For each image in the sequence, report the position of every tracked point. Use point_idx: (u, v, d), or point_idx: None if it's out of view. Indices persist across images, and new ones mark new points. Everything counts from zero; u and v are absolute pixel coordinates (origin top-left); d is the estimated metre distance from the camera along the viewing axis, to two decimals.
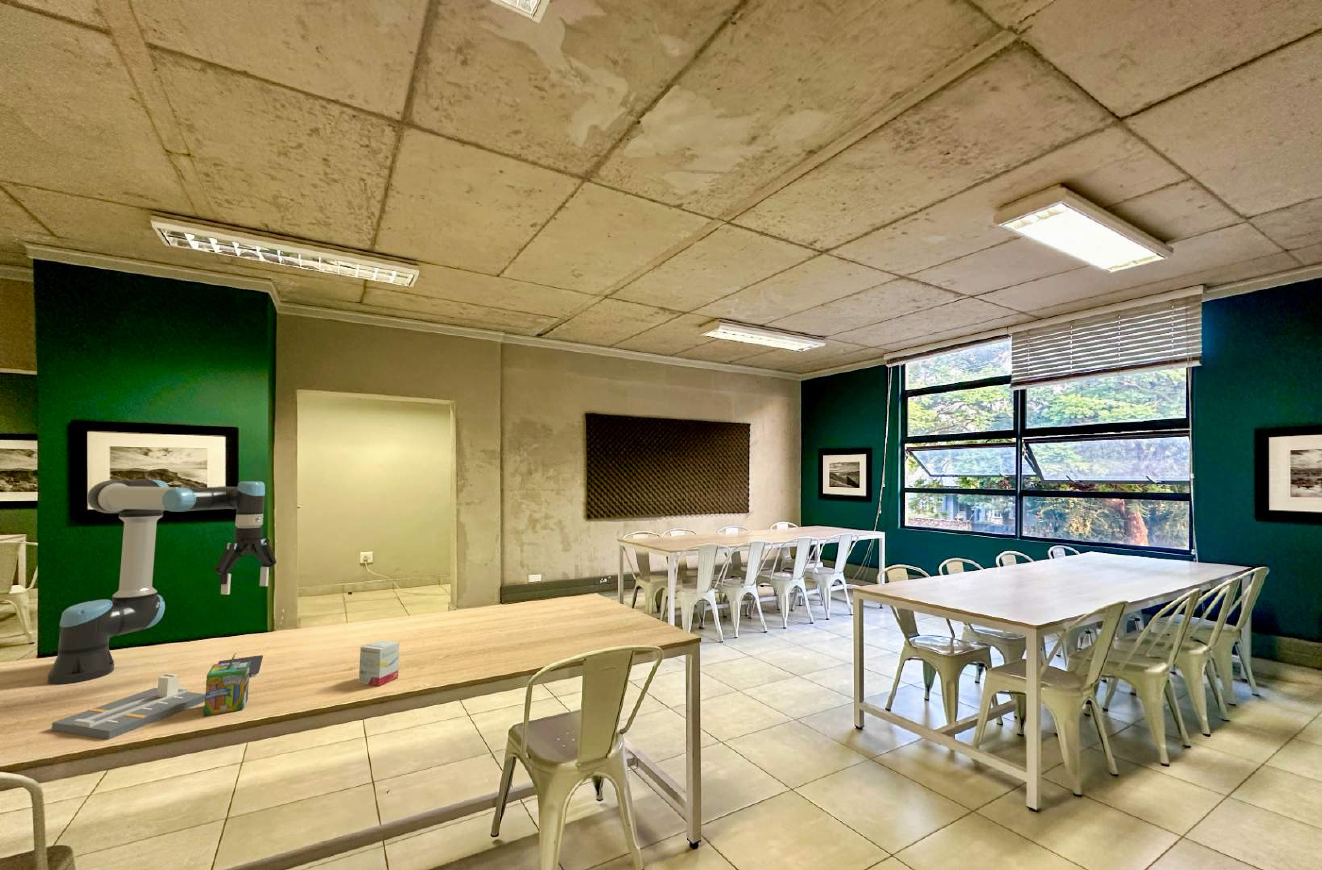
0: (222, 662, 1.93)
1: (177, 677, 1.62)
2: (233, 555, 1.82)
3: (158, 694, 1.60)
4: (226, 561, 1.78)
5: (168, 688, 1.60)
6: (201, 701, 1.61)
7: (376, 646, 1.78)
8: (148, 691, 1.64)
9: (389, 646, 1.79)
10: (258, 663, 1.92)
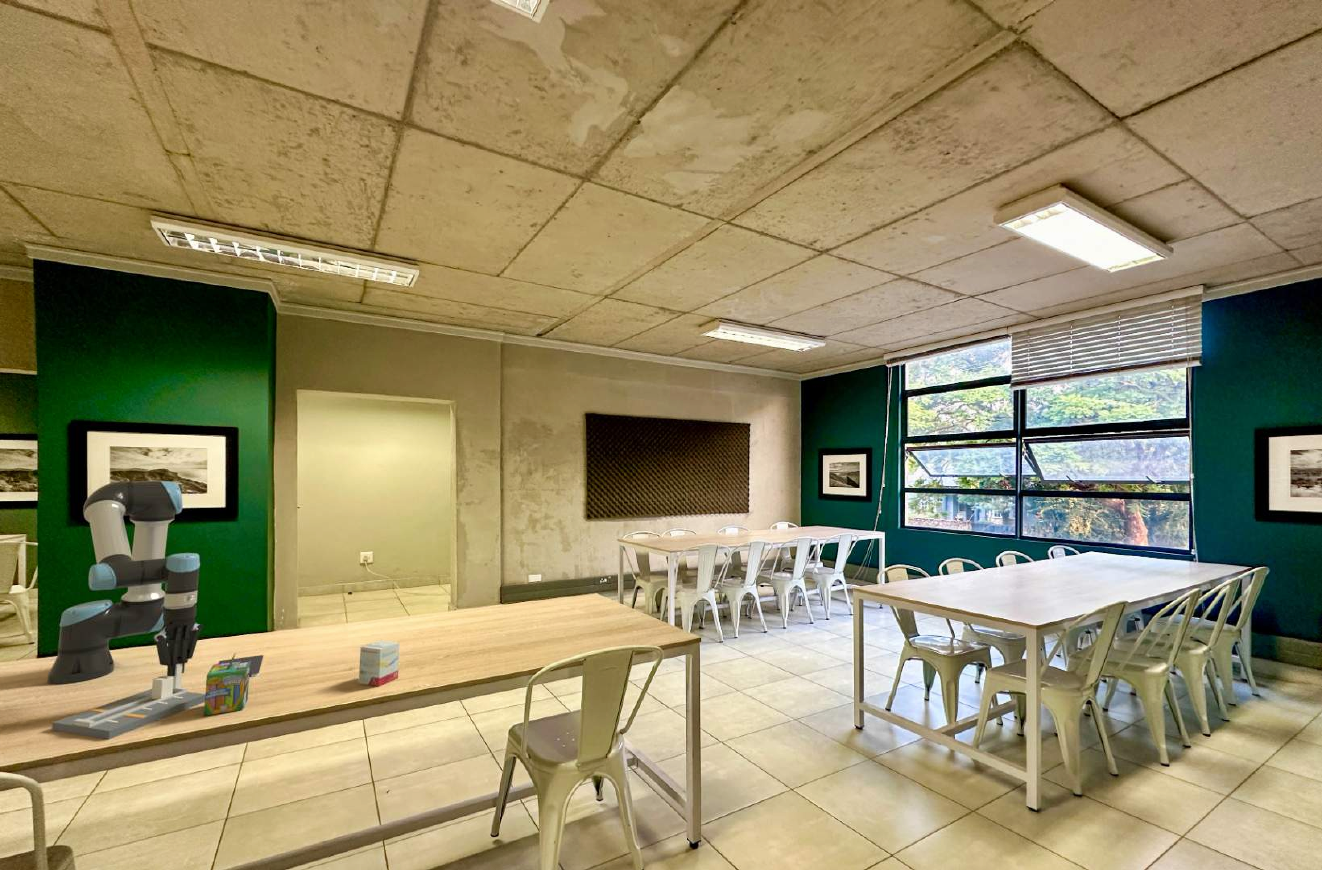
0: (222, 662, 1.93)
1: (171, 679, 1.61)
2: (169, 643, 1.63)
3: (152, 696, 1.59)
4: (166, 653, 1.60)
5: (163, 690, 1.59)
6: (201, 701, 1.61)
7: (376, 646, 1.78)
8: (148, 691, 1.64)
9: (389, 646, 1.79)
10: (258, 663, 1.92)
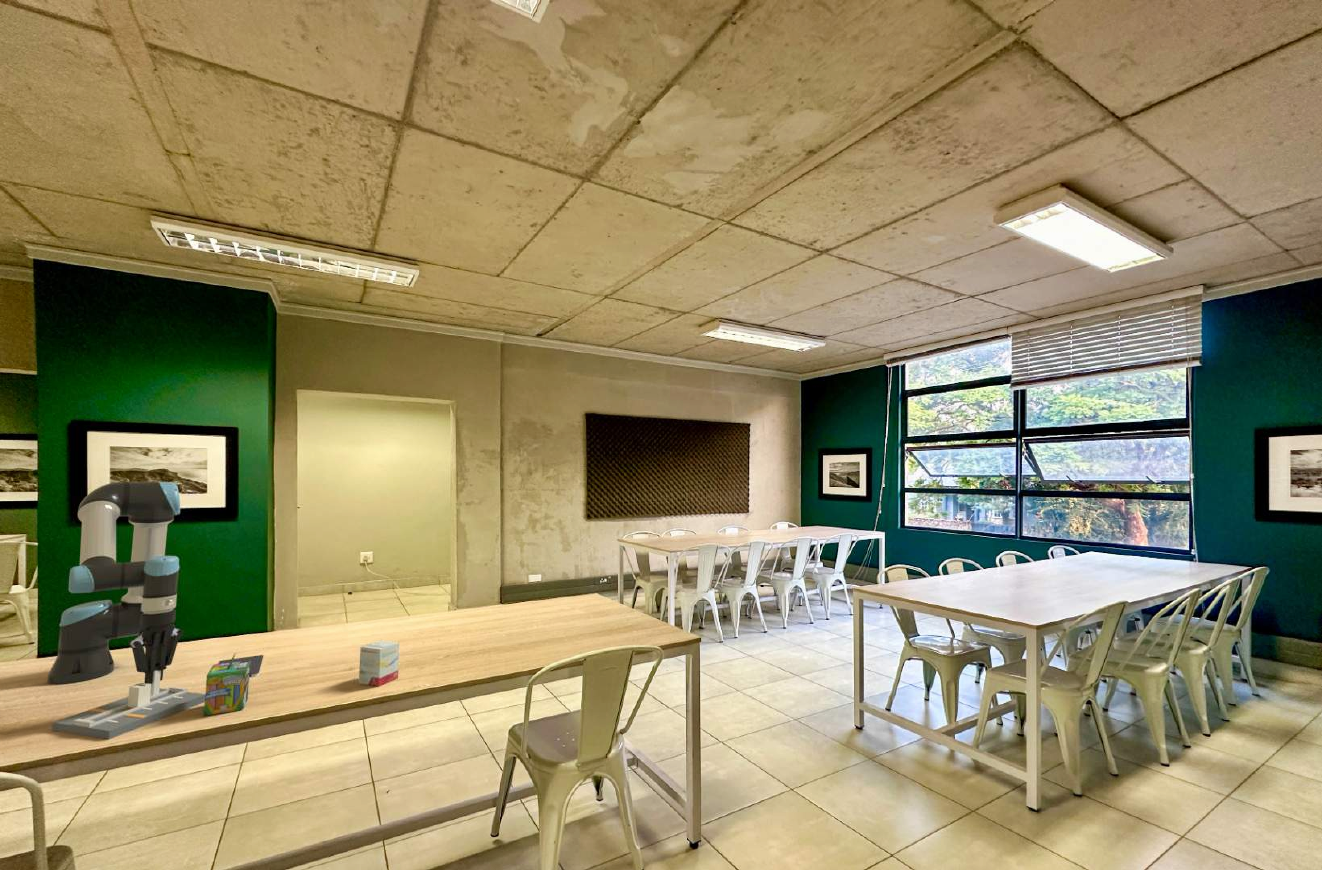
0: (222, 662, 1.93)
1: (149, 686, 1.55)
2: (147, 649, 1.57)
3: (129, 704, 1.53)
4: (143, 659, 1.54)
5: (139, 698, 1.53)
6: (201, 701, 1.61)
7: (376, 646, 1.78)
8: None
9: (389, 646, 1.79)
10: (258, 663, 1.92)
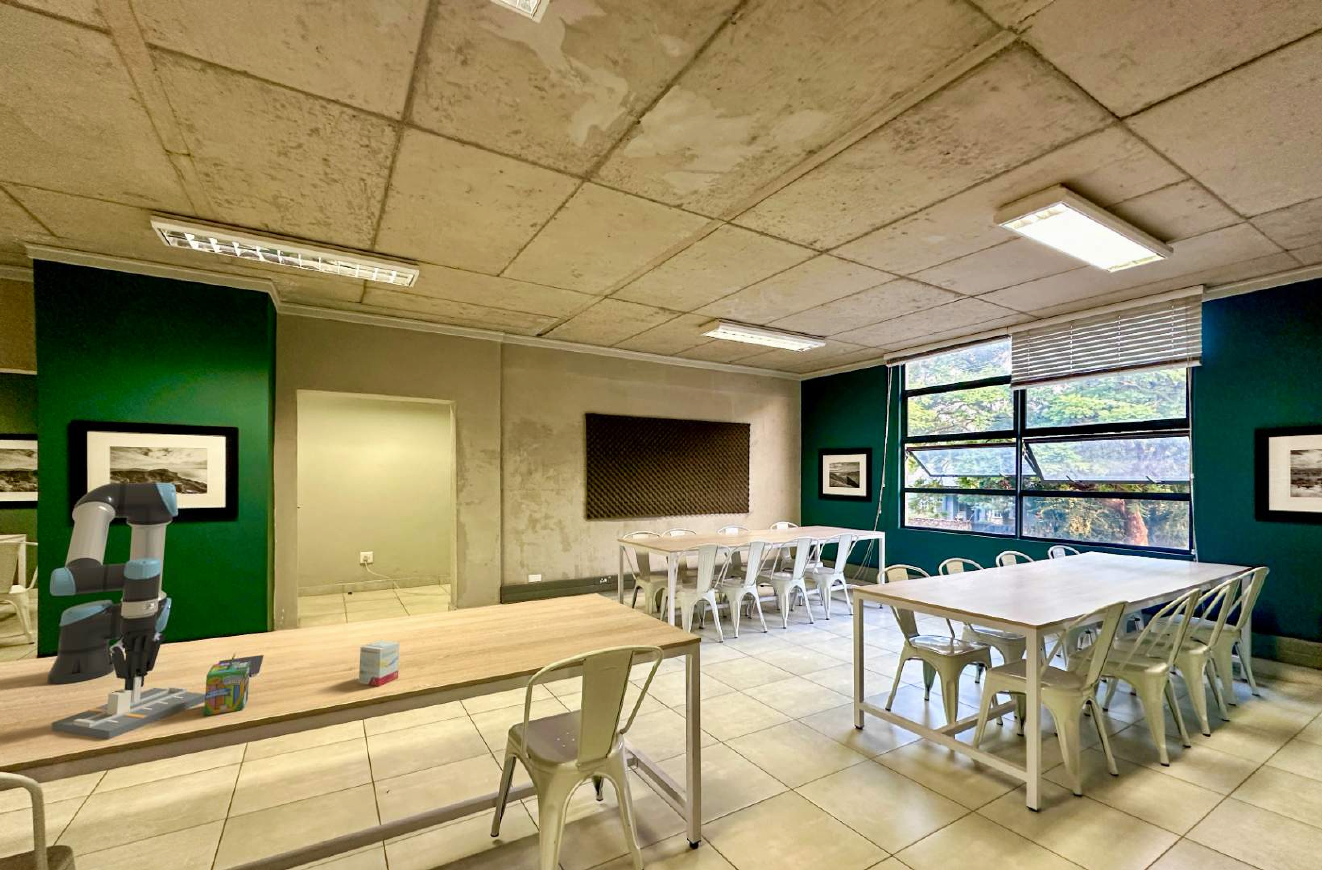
0: (223, 662, 1.93)
1: (129, 693, 1.51)
2: (127, 654, 1.52)
3: (108, 712, 1.48)
4: (123, 665, 1.50)
5: (119, 706, 1.48)
6: (201, 701, 1.61)
7: (376, 646, 1.78)
8: (148, 691, 1.64)
9: (389, 646, 1.79)
10: (258, 663, 1.92)
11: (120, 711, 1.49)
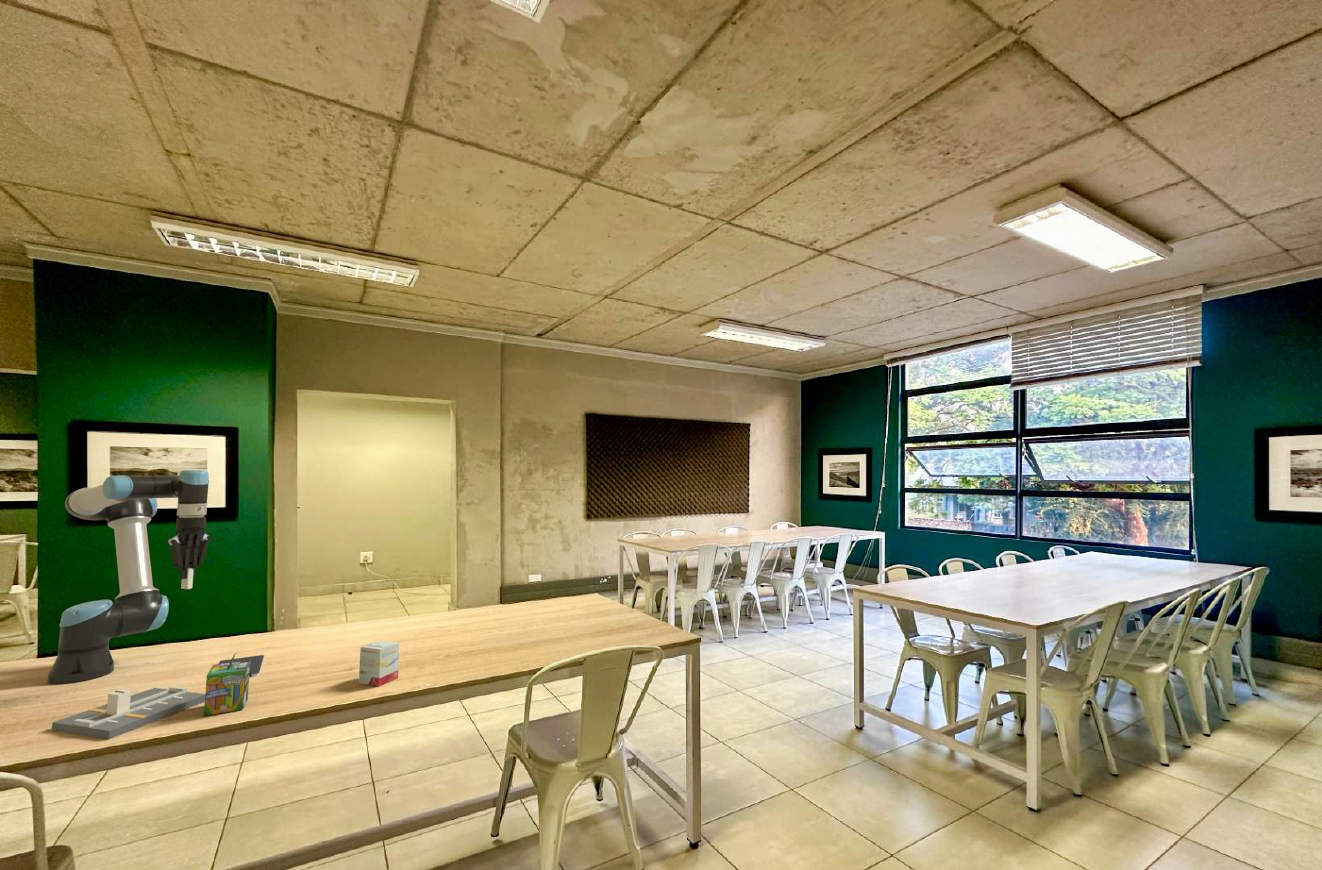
0: (223, 662, 1.93)
1: (129, 693, 1.50)
2: (181, 548, 1.80)
3: (107, 712, 1.48)
4: (179, 556, 1.78)
5: (118, 706, 1.48)
6: (201, 701, 1.61)
7: (376, 646, 1.78)
8: (148, 691, 1.64)
9: (389, 646, 1.79)
10: (259, 663, 1.92)
11: (120, 711, 1.48)
